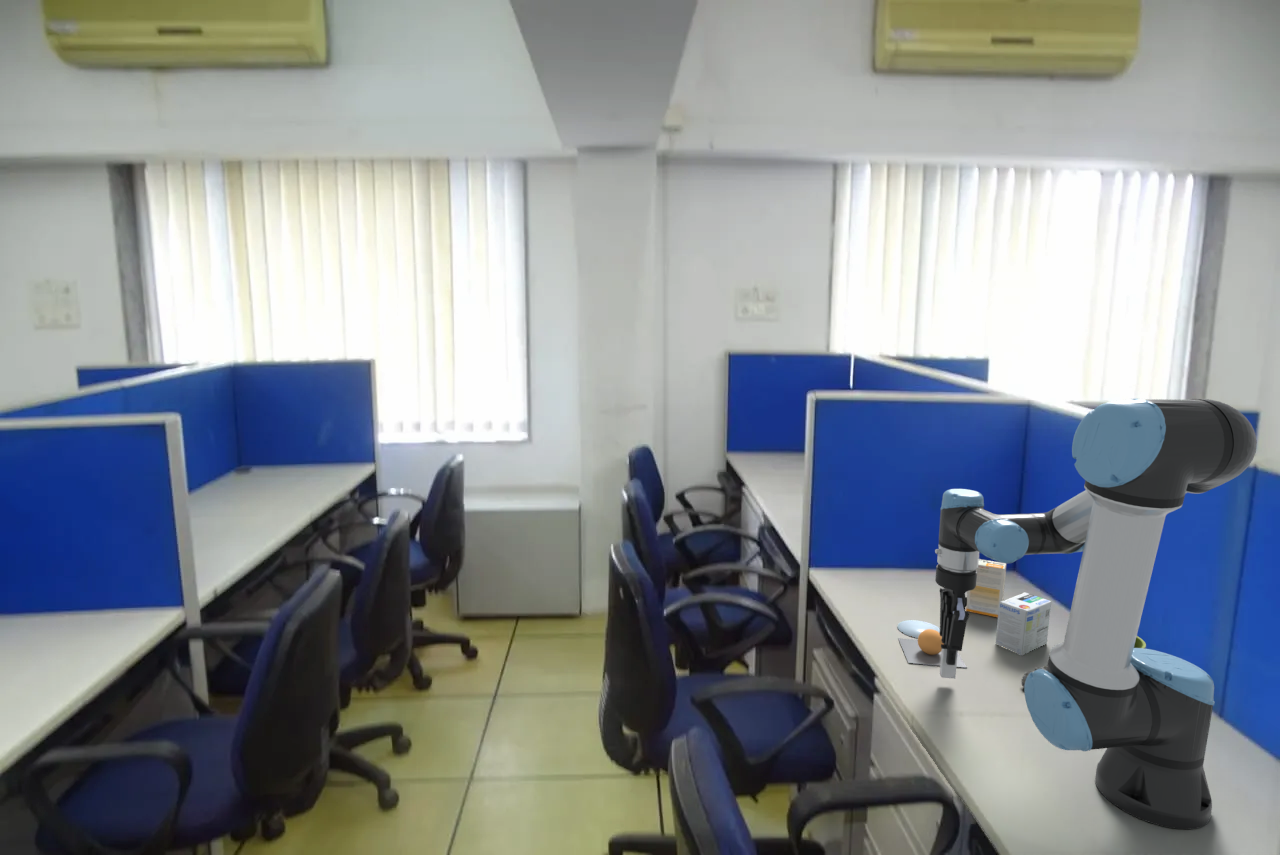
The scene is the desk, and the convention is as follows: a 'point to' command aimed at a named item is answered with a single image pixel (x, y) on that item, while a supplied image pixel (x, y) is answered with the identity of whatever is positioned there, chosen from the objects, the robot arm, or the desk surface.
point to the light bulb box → (1023, 623)
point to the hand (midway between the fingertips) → (947, 676)
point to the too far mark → (915, 627)
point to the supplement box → (987, 588)
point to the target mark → (923, 654)
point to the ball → (930, 641)
